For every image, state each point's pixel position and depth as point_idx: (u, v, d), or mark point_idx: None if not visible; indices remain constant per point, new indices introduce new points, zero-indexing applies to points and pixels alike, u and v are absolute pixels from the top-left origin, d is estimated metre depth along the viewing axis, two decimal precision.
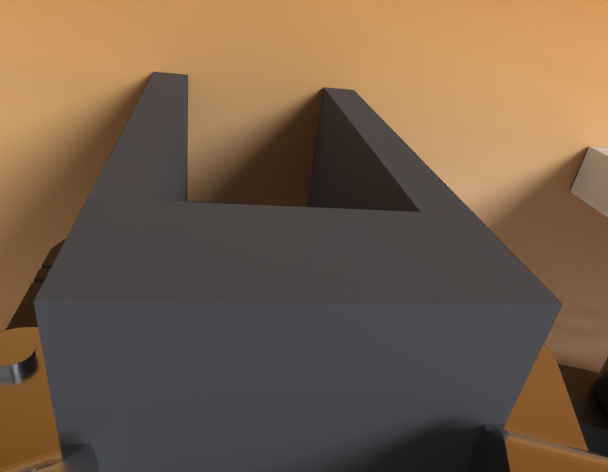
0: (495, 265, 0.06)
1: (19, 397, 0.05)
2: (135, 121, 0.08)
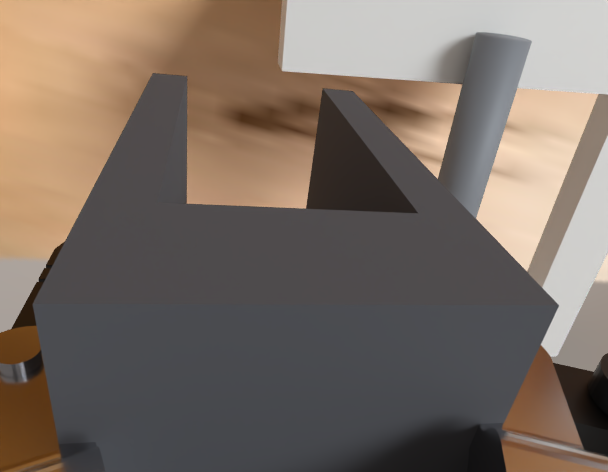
0: (493, 266, 0.06)
1: (25, 395, 0.05)
2: (134, 123, 0.08)
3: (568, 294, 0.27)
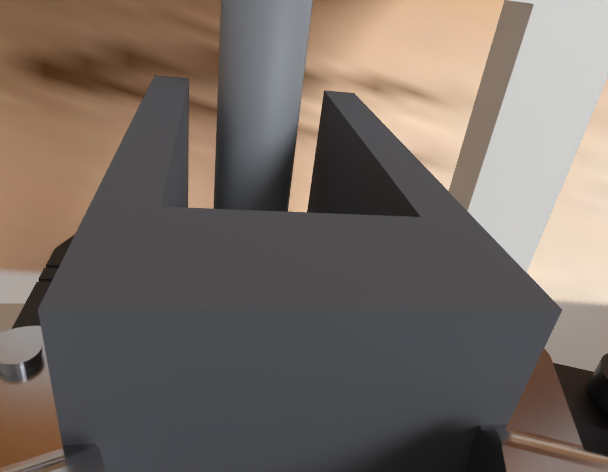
0: (495, 270, 0.06)
1: (25, 396, 0.05)
2: (137, 126, 0.08)
3: None
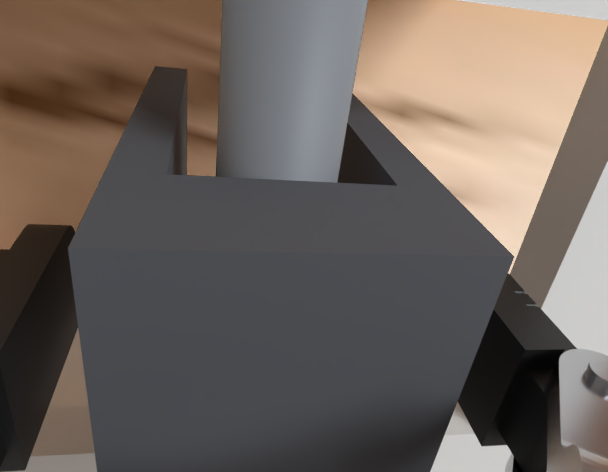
0: (459, 227, 0.06)
1: None
2: (141, 109, 0.09)
3: None
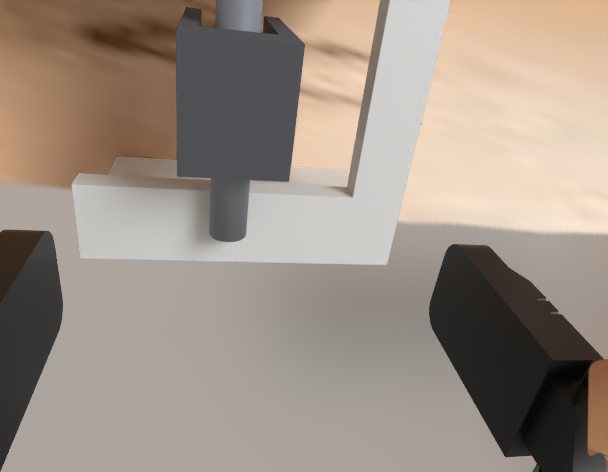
0: (292, 40, 0.20)
1: None
2: (185, 15, 0.23)
3: (383, 196, 0.28)
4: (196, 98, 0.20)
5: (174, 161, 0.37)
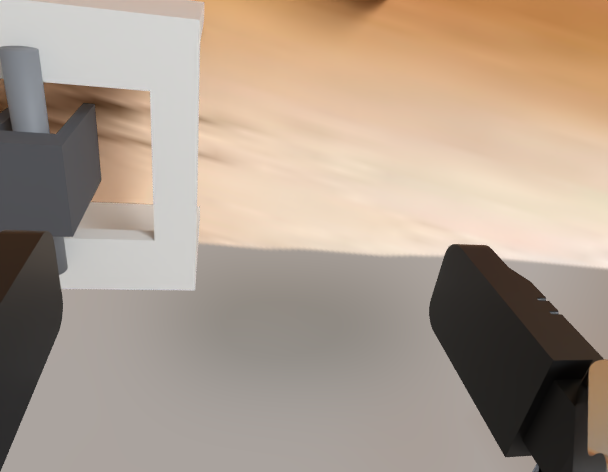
0: (57, 141, 0.28)
1: None
2: (0, 114, 0.31)
3: (179, 239, 0.37)
4: None
5: None
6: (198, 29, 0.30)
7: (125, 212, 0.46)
